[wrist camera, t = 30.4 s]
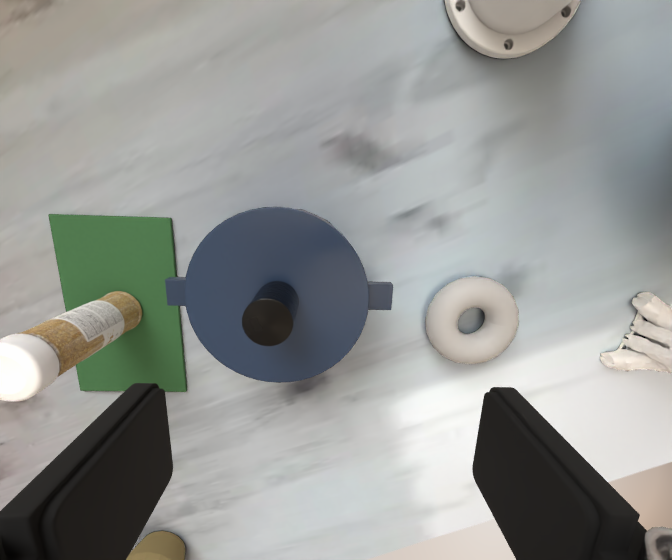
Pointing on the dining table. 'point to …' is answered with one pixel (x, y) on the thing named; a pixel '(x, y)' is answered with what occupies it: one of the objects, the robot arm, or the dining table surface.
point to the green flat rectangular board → (133, 278)
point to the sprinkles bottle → (62, 343)
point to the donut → (489, 336)
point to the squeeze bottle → (159, 547)
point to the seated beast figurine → (646, 353)
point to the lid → (276, 294)
